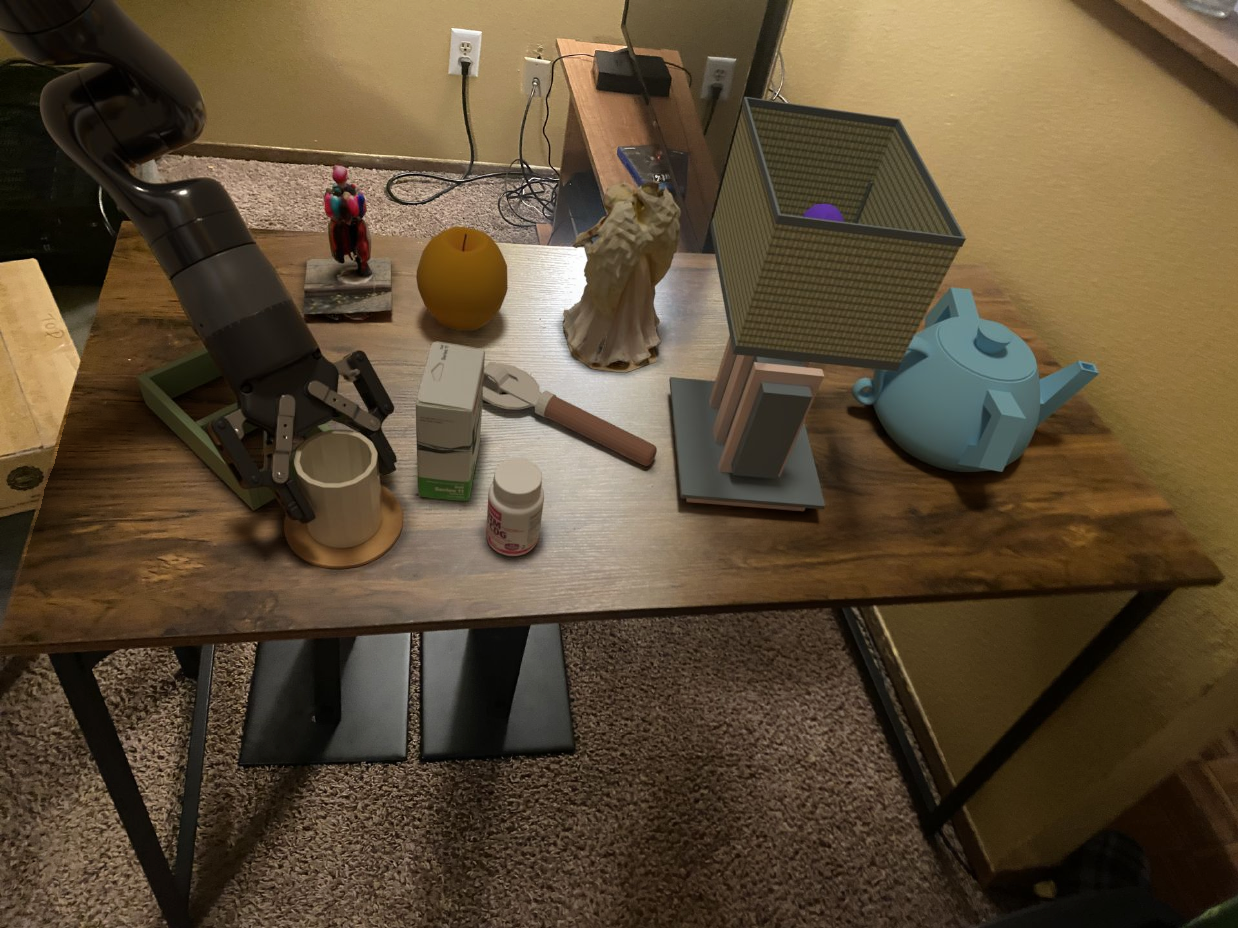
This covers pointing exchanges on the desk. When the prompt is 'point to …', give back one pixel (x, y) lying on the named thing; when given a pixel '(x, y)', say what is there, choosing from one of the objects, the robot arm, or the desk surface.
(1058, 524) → the desk surface
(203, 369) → the cup holder
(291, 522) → the coaster
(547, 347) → the desk surface
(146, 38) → the robot arm
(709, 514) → the desk surface
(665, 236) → the figurine
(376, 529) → the cup
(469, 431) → the ink box
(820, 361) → the desk lamp
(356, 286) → the statue
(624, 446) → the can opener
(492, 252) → the apple
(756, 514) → the desk surface
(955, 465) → the teapot
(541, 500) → the pill bottle
